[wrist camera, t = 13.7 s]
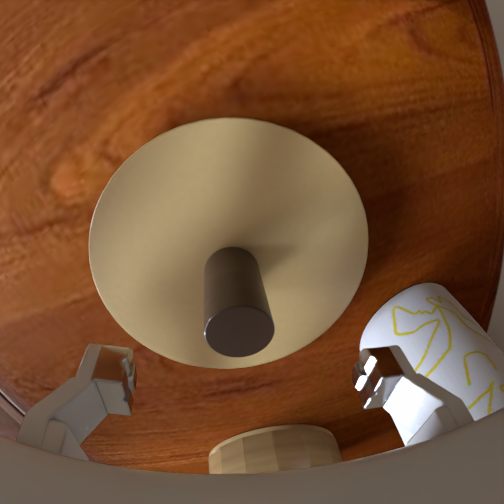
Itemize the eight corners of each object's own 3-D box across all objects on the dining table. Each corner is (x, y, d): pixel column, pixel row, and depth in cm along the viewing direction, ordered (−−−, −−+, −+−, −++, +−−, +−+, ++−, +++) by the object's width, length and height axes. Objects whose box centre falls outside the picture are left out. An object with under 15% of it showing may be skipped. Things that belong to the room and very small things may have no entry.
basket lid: (385, 140, 14) (458, 168, 9) (325, 352, 21) (352, 419, 16) (90, 113, 12) (26, 128, 7) (113, 349, 18) (95, 421, 13)
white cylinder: (450, 263, 18) (562, 384, 8) (450, 335, 22) (522, 439, 12) (349, 318, 19) (432, 483, 9) (369, 380, 23) (424, 503, 13)
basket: (352, 416, 26) (383, 500, 17) (315, 469, 32) (332, 532, 23) (209, 427, 24) (216, 528, 15) (208, 478, 30) (214, 547, 21)
